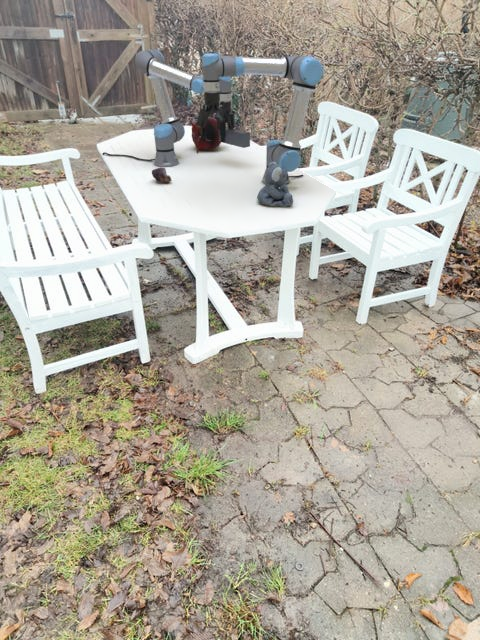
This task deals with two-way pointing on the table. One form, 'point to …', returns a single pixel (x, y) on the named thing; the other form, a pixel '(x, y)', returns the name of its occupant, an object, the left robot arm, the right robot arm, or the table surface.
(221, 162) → the table surface
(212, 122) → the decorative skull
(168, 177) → the rock
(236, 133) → the bar
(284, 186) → the koala plush
